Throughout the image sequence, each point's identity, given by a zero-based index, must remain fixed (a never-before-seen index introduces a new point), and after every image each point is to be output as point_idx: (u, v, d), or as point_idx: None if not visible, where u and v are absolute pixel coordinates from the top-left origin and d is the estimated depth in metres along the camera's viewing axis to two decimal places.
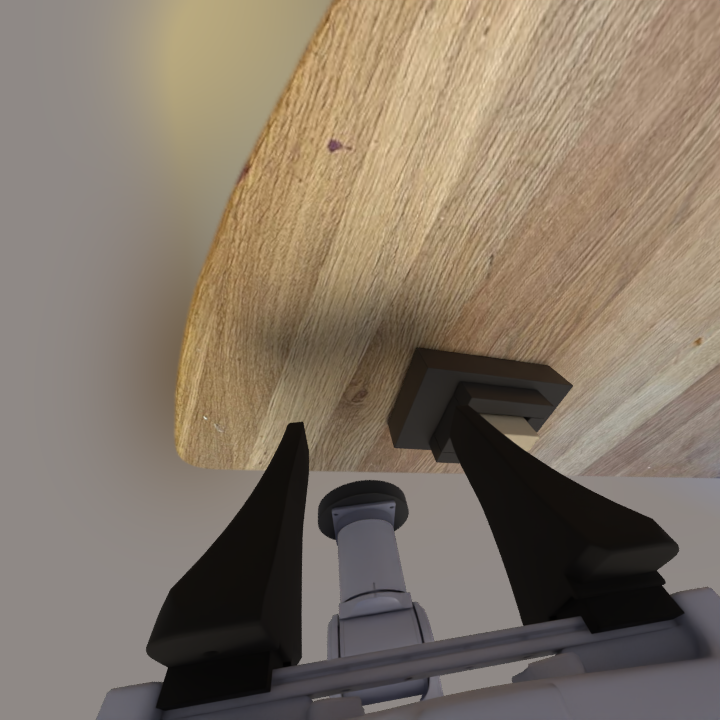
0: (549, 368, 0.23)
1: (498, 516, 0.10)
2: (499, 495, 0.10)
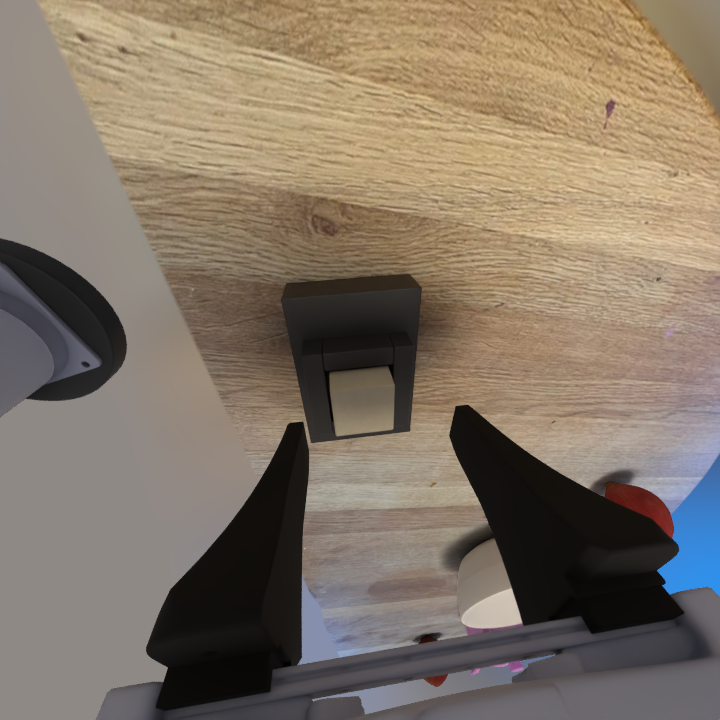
0: None
1: (498, 516, 0.10)
2: (499, 495, 0.10)
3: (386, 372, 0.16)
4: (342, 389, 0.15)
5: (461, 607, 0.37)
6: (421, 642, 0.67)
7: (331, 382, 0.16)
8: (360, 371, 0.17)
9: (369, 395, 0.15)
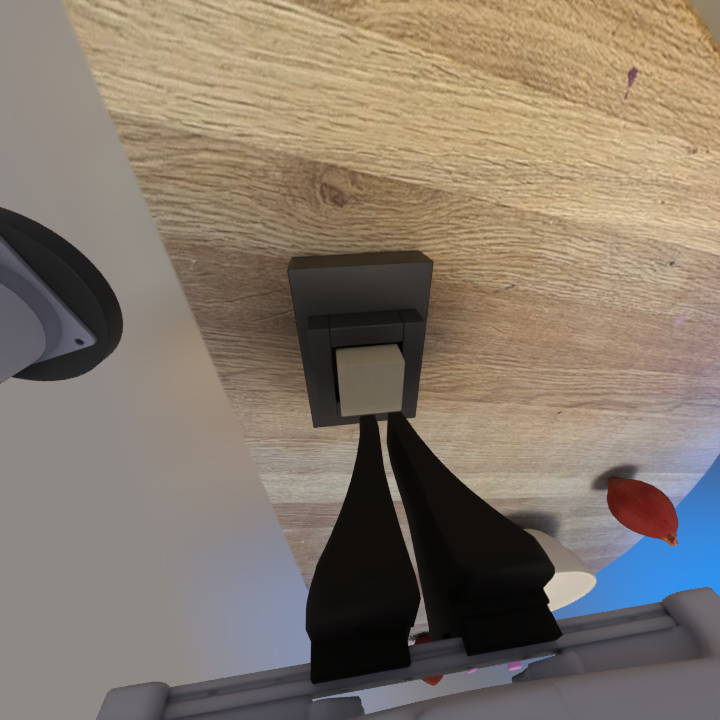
0: None
1: (414, 528, 0.10)
2: (414, 506, 0.10)
3: (395, 349, 0.16)
4: (350, 364, 0.14)
5: None
6: (418, 640, 0.66)
7: (338, 358, 0.15)
8: (368, 348, 0.16)
9: (377, 372, 0.15)
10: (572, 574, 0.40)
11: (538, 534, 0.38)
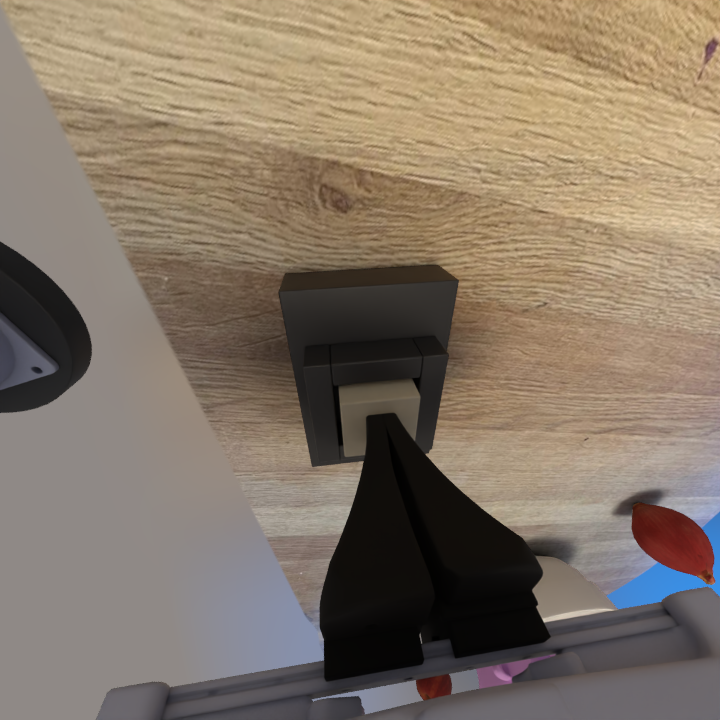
0: None
1: None
2: (405, 507, 0.10)
3: (408, 380, 0.13)
4: (354, 400, 0.12)
5: None
6: None
7: (341, 392, 0.13)
8: None
9: (388, 409, 0.12)
10: None
11: (556, 563, 0.35)
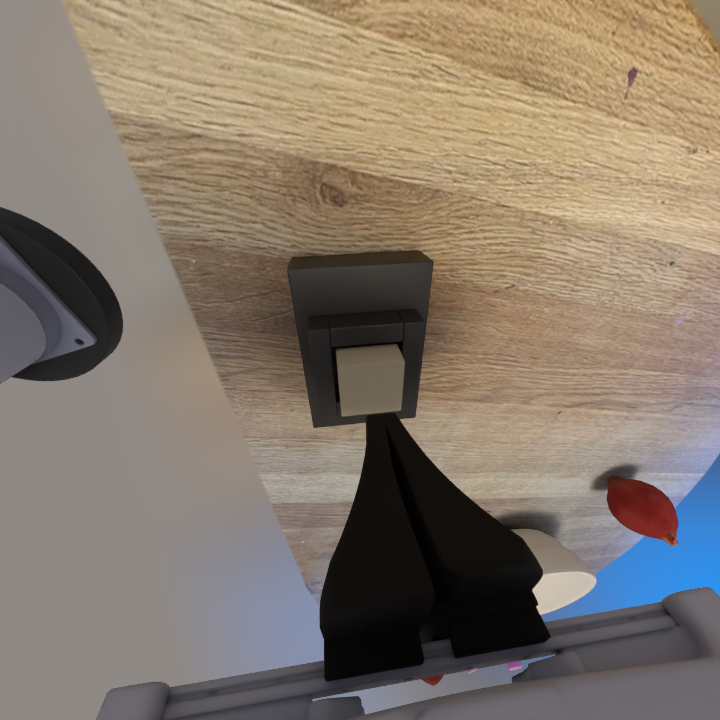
0: None
1: None
2: (405, 507, 0.10)
3: (395, 349, 0.16)
4: (349, 364, 0.14)
5: None
6: None
7: (338, 358, 0.15)
8: (368, 348, 0.16)
9: (377, 372, 0.15)
10: (572, 574, 0.40)
11: (538, 534, 0.38)
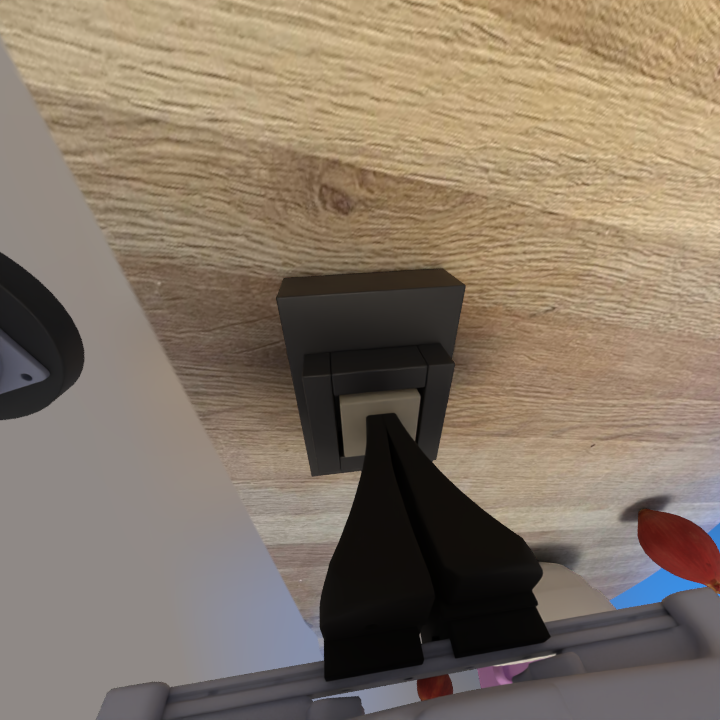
0: None
1: None
2: (405, 507, 0.10)
3: None
4: (354, 401, 0.12)
5: None
6: None
7: None
8: None
9: (388, 409, 0.12)
10: None
11: (560, 570, 0.34)
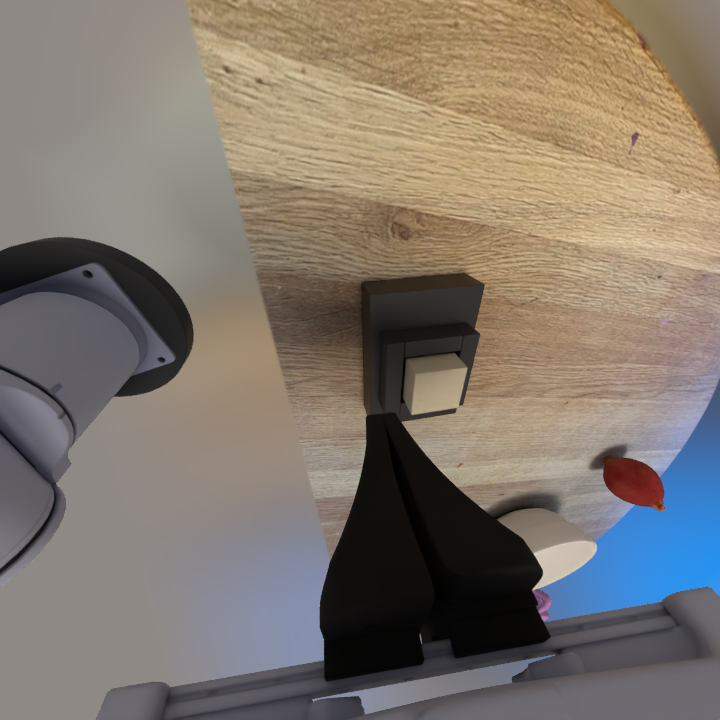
0: None
1: None
2: (405, 507, 0.10)
3: (456, 357, 0.19)
4: (424, 371, 0.18)
5: None
6: None
7: (412, 367, 0.18)
8: (433, 357, 0.19)
9: (445, 377, 0.18)
10: (574, 545, 0.45)
11: (545, 512, 0.42)
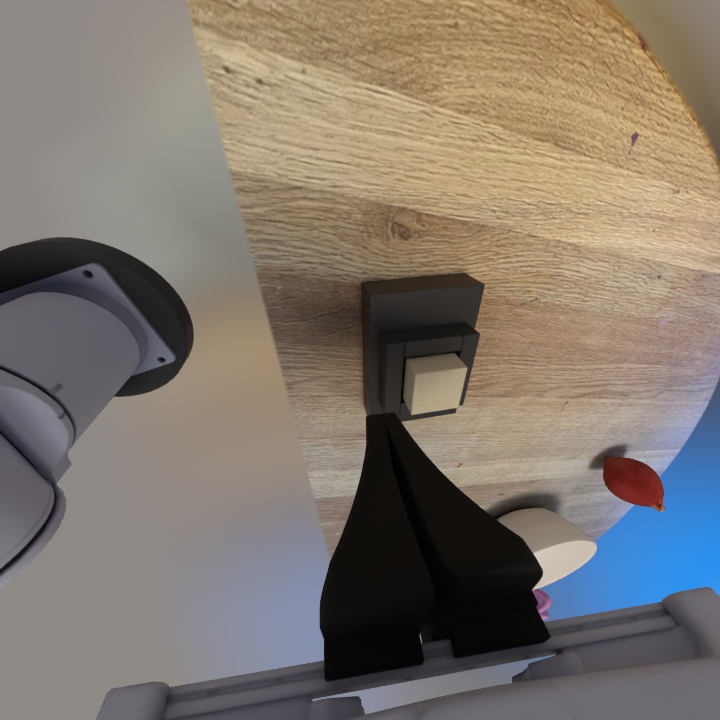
0: None
1: None
2: (405, 507, 0.10)
3: (456, 357, 0.19)
4: (424, 371, 0.18)
5: None
6: None
7: (412, 367, 0.18)
8: (433, 357, 0.19)
9: (445, 377, 0.18)
10: (574, 545, 0.45)
11: (545, 511, 0.42)
